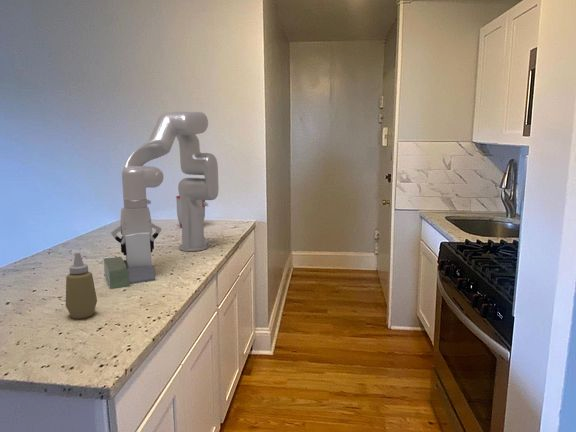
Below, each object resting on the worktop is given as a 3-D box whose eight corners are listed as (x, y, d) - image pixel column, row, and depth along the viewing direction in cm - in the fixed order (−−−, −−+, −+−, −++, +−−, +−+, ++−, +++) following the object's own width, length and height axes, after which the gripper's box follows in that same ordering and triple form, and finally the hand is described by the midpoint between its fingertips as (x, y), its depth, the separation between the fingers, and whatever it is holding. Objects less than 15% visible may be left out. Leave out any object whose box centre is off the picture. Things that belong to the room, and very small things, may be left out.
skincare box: (149, 268, 163) (147, 228, 161) (152, 273, 158) (150, 232, 155) (125, 271, 160) (123, 230, 157) (127, 276, 155) (125, 234, 152)
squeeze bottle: (73, 310, 129) (68, 249, 126) (102, 309, 130) (97, 249, 127) (61, 321, 121) (56, 257, 118) (92, 320, 122) (87, 256, 119)
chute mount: (147, 269, 168) (146, 253, 167) (156, 282, 154) (156, 265, 153) (104, 274, 162) (103, 258, 161) (110, 288, 147) (109, 271, 146)
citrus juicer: (206, 230, 238) (205, 192, 235) (173, 229, 239) (172, 192, 235) (211, 224, 254) (210, 189, 250) (180, 223, 254) (179, 189, 250)
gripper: (158, 201, 162) (160, 247, 165) (107, 204, 154) (110, 253, 157) (163, 204, 155) (165, 252, 158) (109, 207, 147) (113, 258, 150)
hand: (137, 252), depth 158 cm, fingers closed on skincare box, 8 cm apart
